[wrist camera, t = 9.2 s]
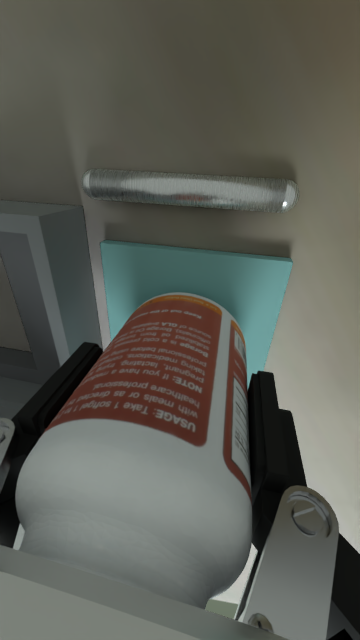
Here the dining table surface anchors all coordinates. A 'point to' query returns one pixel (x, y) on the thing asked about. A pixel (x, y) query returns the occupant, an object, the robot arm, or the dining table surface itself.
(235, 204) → the rod
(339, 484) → the dining table surface
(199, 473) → the pill bottle
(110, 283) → the mat
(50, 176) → the dining table surface
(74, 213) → the case
